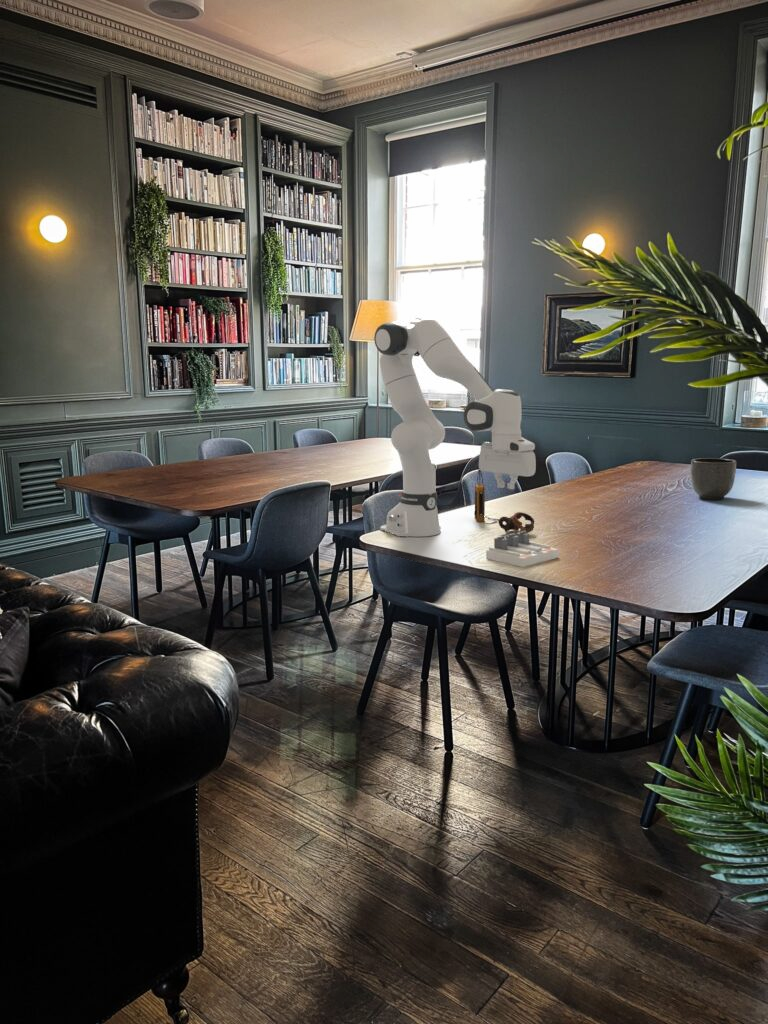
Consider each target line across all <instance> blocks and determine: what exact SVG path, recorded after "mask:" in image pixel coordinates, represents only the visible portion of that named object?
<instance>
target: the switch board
mask: <svg viewBox="0 0 768 1024" xmlns="http://www.w3.org/2000/svg"><path fill="white" fill-rule="evenodd" d="M485 552H486V553H485V555H486V557H485V558H486V559H487V560H491V561H497V562H499V563H503V564H509V565H513V566H517V567H521V568H524V567H529V566H533V565H535V564H540V563H543V562H547V561H551V560H554V559H557V558H559V549H558V548H554V547H551V545H548V544H544V543H538V542H533V541H531V540H529V545H527V544H522V543H519V547H513V546H508V545H507V550H502V549H498V548H494V546H493V547H492V546H490V547H488V549H486V550H485Z"/></svg>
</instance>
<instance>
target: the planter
mask: <svg viewBox="0 0 768 1024" xmlns="http://www.w3.org/2000/svg"><path fill="white" fill-rule="evenodd" d="M736 472H737V460H735V459H729V458H720V457H719V458H718V457H717V458H716V457H714V458H713V457H701V458H693V459H691V461H690V481H691V486H692V489H693V491H694V492H695V493H696V494H697V495H698V497H699V498H700V499H702V500H705V501H721V500H723V499H724V498H725V497H726V496H727V495H728V494H729V493H730V492H731V490H733V487H734V483H735V479H736Z"/></svg>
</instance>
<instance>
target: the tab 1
mask: <svg viewBox="0 0 768 1024" xmlns="http://www.w3.org/2000/svg"><path fill="white" fill-rule="evenodd" d="M493 540H494V545H493V548H498V549H502V550H507V541H508V539H506V537H505V536H504V535H501V536H497V537H496V538H495V537H494V539H493Z"/></svg>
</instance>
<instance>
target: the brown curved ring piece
mask: <svg viewBox="0 0 768 1024" xmlns="http://www.w3.org/2000/svg"><path fill="white" fill-rule="evenodd" d="M522 517H523V518H524V520H525V521H530V523H525V524H524V526H523V522H522V521H520V519H521V518H522ZM498 519H499V521H498V520H497V522H498V523H497V524H498V526H499V527H500V528H501V529H503V530H504V532H505V533H507V532H508V531H511V530H513V531H516V530H518V531H519V532H518V533H520V532H522V531H526V533H528V534H530V532H532V531H534V529H535V519H534V517H532V516H531V515H530V514H527V513H526V512H520V511H519V512H515V513H514V515H511V516H510V517H508V516H500V518H498ZM503 522H504V523H505V524H504V523H503Z"/></svg>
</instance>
